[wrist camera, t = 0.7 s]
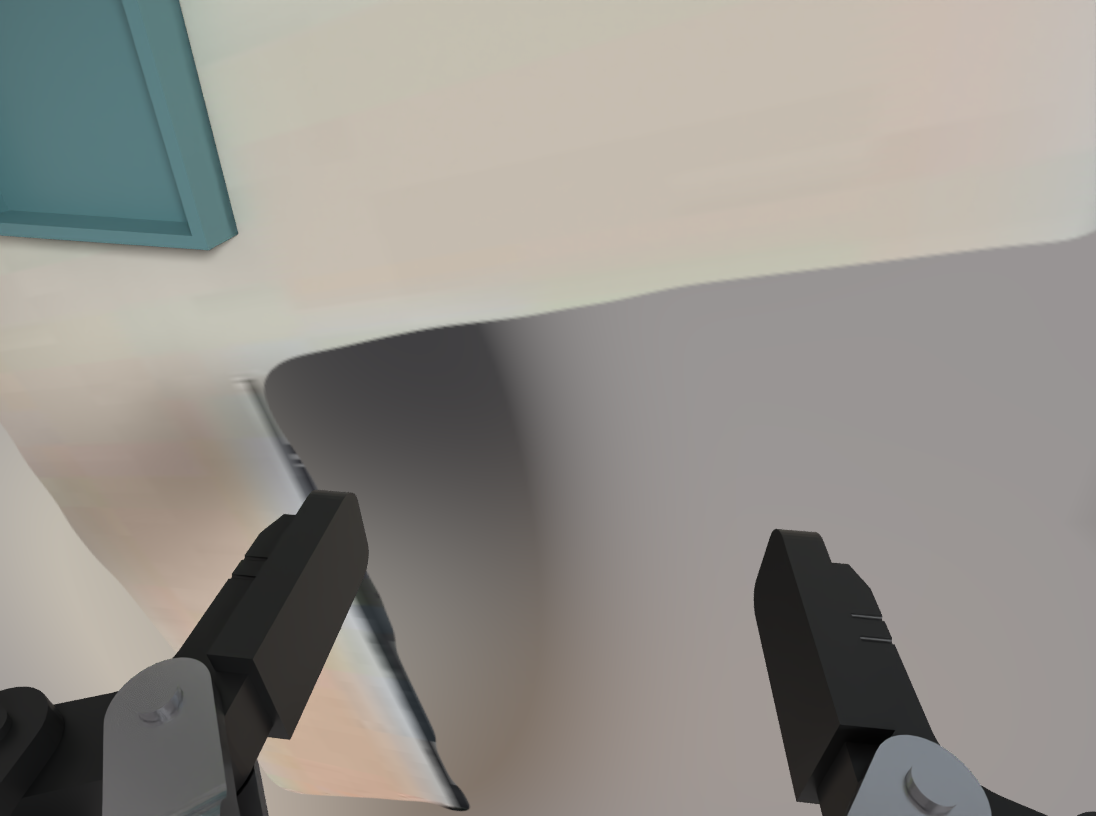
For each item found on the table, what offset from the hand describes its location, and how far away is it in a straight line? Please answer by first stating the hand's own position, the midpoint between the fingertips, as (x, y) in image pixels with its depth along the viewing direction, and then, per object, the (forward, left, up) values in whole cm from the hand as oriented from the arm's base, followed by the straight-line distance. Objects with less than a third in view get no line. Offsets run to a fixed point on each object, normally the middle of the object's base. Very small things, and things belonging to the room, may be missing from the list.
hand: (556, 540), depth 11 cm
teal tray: (-5, -31, -28) cm, 42 cm away
